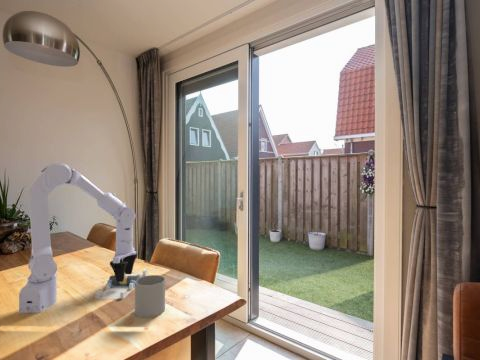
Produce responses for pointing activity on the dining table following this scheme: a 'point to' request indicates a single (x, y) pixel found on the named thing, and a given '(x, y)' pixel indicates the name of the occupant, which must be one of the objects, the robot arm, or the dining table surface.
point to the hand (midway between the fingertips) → (124, 277)
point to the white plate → (118, 288)
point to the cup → (149, 296)
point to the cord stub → (126, 279)
